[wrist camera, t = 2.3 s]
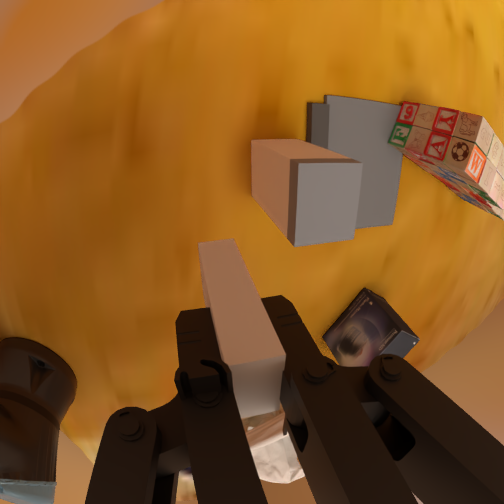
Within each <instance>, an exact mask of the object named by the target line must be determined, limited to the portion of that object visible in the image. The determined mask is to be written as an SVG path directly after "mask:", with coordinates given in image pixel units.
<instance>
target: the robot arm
mask: <svg viewBox="0 0 504 504" xmlns="http://www.w3.org/2000/svg"><path fill="white" fill-rule="evenodd" d="M198 249H199V259H200V268H201V277H202V285H203V294H204V300H205V305H206V308H200V309H193V310H185V311H181V312H180V314H179V316H178V318H177V320H176V322H175V323H176V335H177V347H178V358H179V368H178V369H177V371H176V372H175V379H174V381H175V384H176V387H177V390H178V393H177V395H176V396H175V398H173V399H172V400H171V401H170V402H169V403H167V404H165V405H163V406H161V407H158V408H156V409H153V410H151V411H148V412H147V411H146V410H145V409H141V408H138V407H125V408H122V409H120V410H117V411H116V412H115V413H114V414H112V415H111V416H110V418H109V420H108V421H107V423H106V426H105V429H104V432H103V436H102V439H101V443H100V446H99V450H98V453H97V457H96V460H95V464H94V468H93V472H92V476H91V480H90V484H89V488H88V492H87V496H86V500H85V504H175V502H176V493H177V484H178V476H179V471H180V470H183V469H185V468H187V467H190V466H191V470H192V475H193V480H194V485H195V490H196V495H197V500H198V504H268V502H267V500H266V497H265V494H264V491H263V488H262V485H261V482H260V478H259V475H258V472H257V469H256V466H255V463H254V460H253V456H252V453H251V450H250V447H249V443H248V440H247V437H246V433H245V430H244V427H243V423H242V420H241V418H246V417H251V416H256V415H260V414H265V413H269V412H273V411H278V410H279V409H280V402H281V405H282V407H283V410H284V412H285V418H284V424H283V429H282V430H283V436H284V435H287V431H288V434H289V437H290V439H291V442H292V444H293V447H294V449H295V452H296V454H297V457H298V459H299V462H300V464H301V467H302V469H303V472H304V474H305V477H306V479H307V481H308V484H309V486H310V489H311V491H312V494H313V496H314V498H315V501H316V503H317V504H418V502H417V501H416V499H415V497H414V495H413V494H412V492H413V493H414V494H415V495H416V496H417V497H418V498H419V499H420V500H421V501H422V502H423V503H424V504H504V446H503V445H502V444H501V443H500V442H499V441H498V440H497V439H496V438H494V437H493V436H492V435H491V434H490V433H489V432H488V431H486V430H485V429H484V428H483V427H482V426H481V425H479V424H478V423H477V422H476V421H475V420H474V419H473V418H472V417H471V416H469V415H468V414H467V413H466V412H465V411H464V410H463V409H462V408H460V407H459V406H458V405H457V404H456V403H454V402H453V401H452V400H451V399H450V398H449V397H448V396H447V395H445V394H444V393H443V392H442V391H441V390H440V389H438V388H437V387H436V386H435V385H434V384H433V383H432V382H430V381H429V380H428V379H427V378H426V377H424V376H423V375H422V374H421V373H420V372H419V371H418V370H416V369H415V368H414V367H413V366H412V365H410V364H409V363H408V362H407V361H406V360H404V359H403V358H401V357H400V356H397V355H394V354H381V355H378V356H376V357H375V358H374V359H373V360H372V361H371V362H370V364H369V366H358V367H347V366H340V365H337V364H336V363H335V362H334V361H333V360H331V359H329V358H328V357H326V356H323V355H322V354H321V352H320V351H319V349H318V347H317V345H316V344H315V342H314V340H313V339H312V337H311V335H310V333H309V332H308V330H307V328H306V326H305V325H304V323H303V322H302V319H301V318H300V316H299V315H298V312H297V311H296V309H295V307H294V306H293V304H292V303H291V302H290V301H289V300H287V299H286V298H285V297H283V296H282V295H278V296H272V297H266V298H260V297H259V294H258V292H257V290H256V288H255V285H254V283H253V281H252V279H251V277H250V274H249V272H248V270H247V268H246V265H245V263H244V261H243V259H242V257H241V254H240V252H239V250H238V248H237V245H236V243H235V241H234V239H226V240H217V241H209V242H201V243H198ZM76 388H77V381H76V377H75V375H74V373H73V371H72V370H71V368H70V367H69V366H68V365H67V364H66V362H65V361H64V360H62V359H61V358H60V357H59V356H58V355H57V354H55V353H54V352H52V351H51V350H49V349H48V348H46V347H44V346H42V345H40V344H38V343H36V342H33V341H30V340H27V339H22V338H7V339H4V340H2V341H1V342H0V499H3V500H6V501H9V502H12V503H15V504H53V502H54V494H55V486H56V461H57V448H58V438H59V430H60V424H61V422H62V420H63V418H64V416H65V414H66V413H67V411H68V409H69V407H70V405H71V404H72V403H73V401H74V399H75V394H76ZM411 491H412V492H411Z"/></svg>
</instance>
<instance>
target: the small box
mask: <svg viewBox="0 0 504 504" xmlns="http://www.w3.org/2000/svg"><path fill="white" fill-rule="evenodd" d="M322 337H323V339H324V340H325V342H326V344H327V345H328V347H329V349H330V350H331V352H332V354H333V355H334V357H335V358H336V360H337V362H338V363H339V365H340V366H347V367H358V366H369V364H370V362H371V361H372V360H373V359H374V358H375V357H376V356H378V355H381V354H394V355H397V356H400V357H401V358H404V357H405V356H406V354H407V353H408V352H409V351H410V350H411V349H412V348H413V347H414V346H415V345H416V344H417V343H418V341H419V340H420V339H419V337H418V336H417V335H416V334H415V333H414V332H413V331H412V330H411V329H410V328H409V326H408V325H407V324H406V323H405V322H404V321H403V320H402V318H401V317H400V316H399V315H398V314H397V313H396V312H395V311H394V310H393V308H392V307H391V306H390V305H389V304H388V303H387V301H386V300H385V299H384V298H382V297H380V296H378V295H376V294H375V293H373V292H372V291H370V290H368V289H366V288H364V289H363V290H362V291H361V292H360V294H359V295H358V296H357V297H356V298H355V300H354V301H353V302H352V303H351V304H350V306H349V307H348V308H347V309H346V310H345V311H344V313H343V314H342V315H341V316H340V317H339V318H338V320H337V321H336V322H335V323H334V324H333V325H332V326H331V328H330V329H329V330H328V331H327V332H326V333H325V334H324V335H323V336H322Z"/></svg>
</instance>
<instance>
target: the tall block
mask: <svg viewBox="0 0 504 504" xmlns="http://www.w3.org/2000/svg"><path fill="white" fill-rule="evenodd" d="M362 167H363V163H361V162H359V161H356V160H354V159H351V158H349V157H346V156H344V155H341V154H338V153H336V152H333V151H330V150H328V149H325V148H322V147H319V146H317V145H314V144H311V143H308V142H305V141H302V140H299V139H263V140H251V168H252V197H253V198H254V199H255V200H256V202H257V203H258V204H259V205H260V206H261V207H262V209H263V210H264V211H265V212H266V213H267V215H268V216H269V217H270V218H271V219H272V221H273V222H274V223H275V224H276V225H277V227H278V228H279V229H280V230H281V231H282V233H283V234H284V235H285V236H286V237H287V239H288V240H289V241H290V242H291V244H292V245H293V246H294V247H298V246H306V245H314V244H321V243H329V242H336V241H344V240H351V239H354V233H355V226H356V219H357V211H358V203H359V195H360V186H361V177H362Z"/></svg>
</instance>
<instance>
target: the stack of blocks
mask: <svg viewBox="0 0 504 504" xmlns="http://www.w3.org/2000/svg"><path fill="white" fill-rule="evenodd" d="M388 144H389V145H391V146H393V147H394V148H395V149H397V150H398V151H400V152H401V153H403V155H405V156H406V157H407V158H409V159H410V160H412V161H413V162H415V163H416V164H417V165H419V166H420V167H421V168H423V169H424V170H425V171H427V172H429V173H431V174H432V175H433V176H435V177H436V178H437V179H439V180H440V181H442V182H443V183H444V184H446V185H447V186H448V188H449V189H451V190H452V191H453V192H454V193H456V194H457V195H458V196H459V197H461V198H462V199H463V200H465V201H467V202H469V203H471V204H473V205H475V206H477V207H479V208H480V209H482V210H484V211H486V212H488V213H491V214H493V215H495V216H497V217H499V218H500V219H502V220H504V147H503V144H502V143H501V141H500V140H499V138H498V137H497V136H496V134H495V133H494V131H493V129H492V128H491V126H490V125H489V124H488V122H487V121H486V119H485V118H484V117H482V116H479V115H474V114H471V113H466V112H461V111H459V110H454V109H449V108H444V107H436V106H430V105H424V104H420V103H412V102H406V101H404V102H403V104H402V107H401V109H400V112H399V115H398V118H397V120H396V124H395V126H394V129H393V131H392V134H391V136H390V139H389V142H388Z"/></svg>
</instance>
